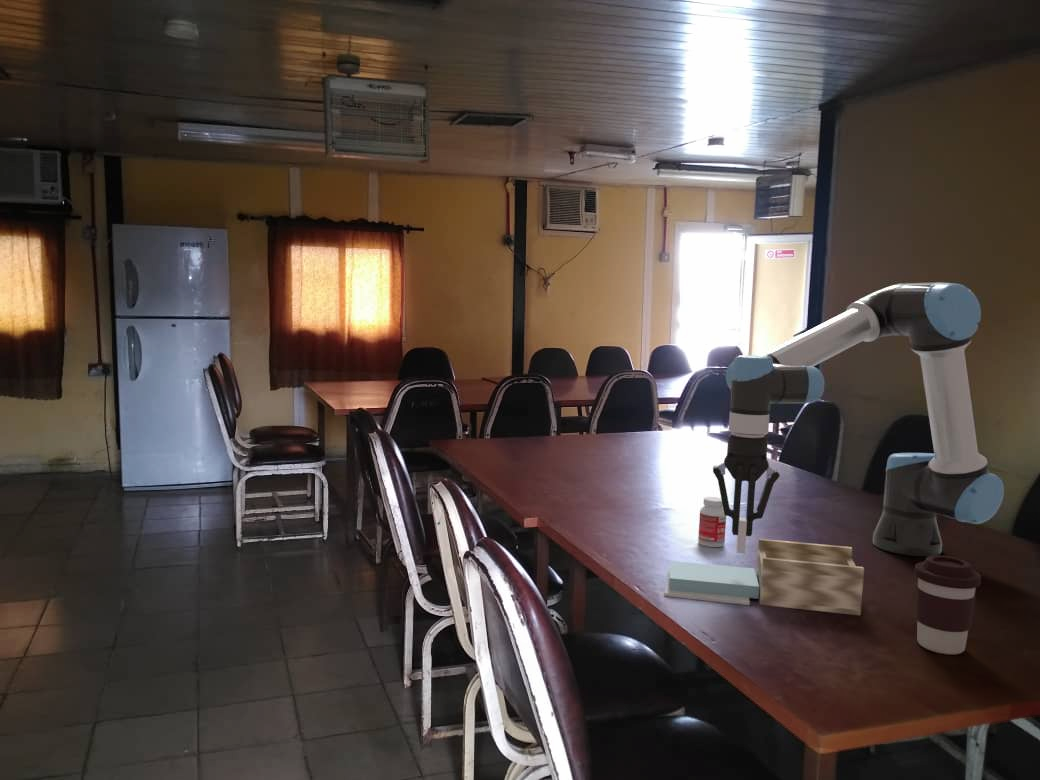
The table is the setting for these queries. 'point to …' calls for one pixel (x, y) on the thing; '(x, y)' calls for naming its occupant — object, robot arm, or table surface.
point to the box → (809, 577)
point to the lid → (713, 579)
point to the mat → (704, 595)
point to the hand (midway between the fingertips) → (740, 551)
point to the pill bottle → (712, 523)
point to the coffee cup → (945, 603)
